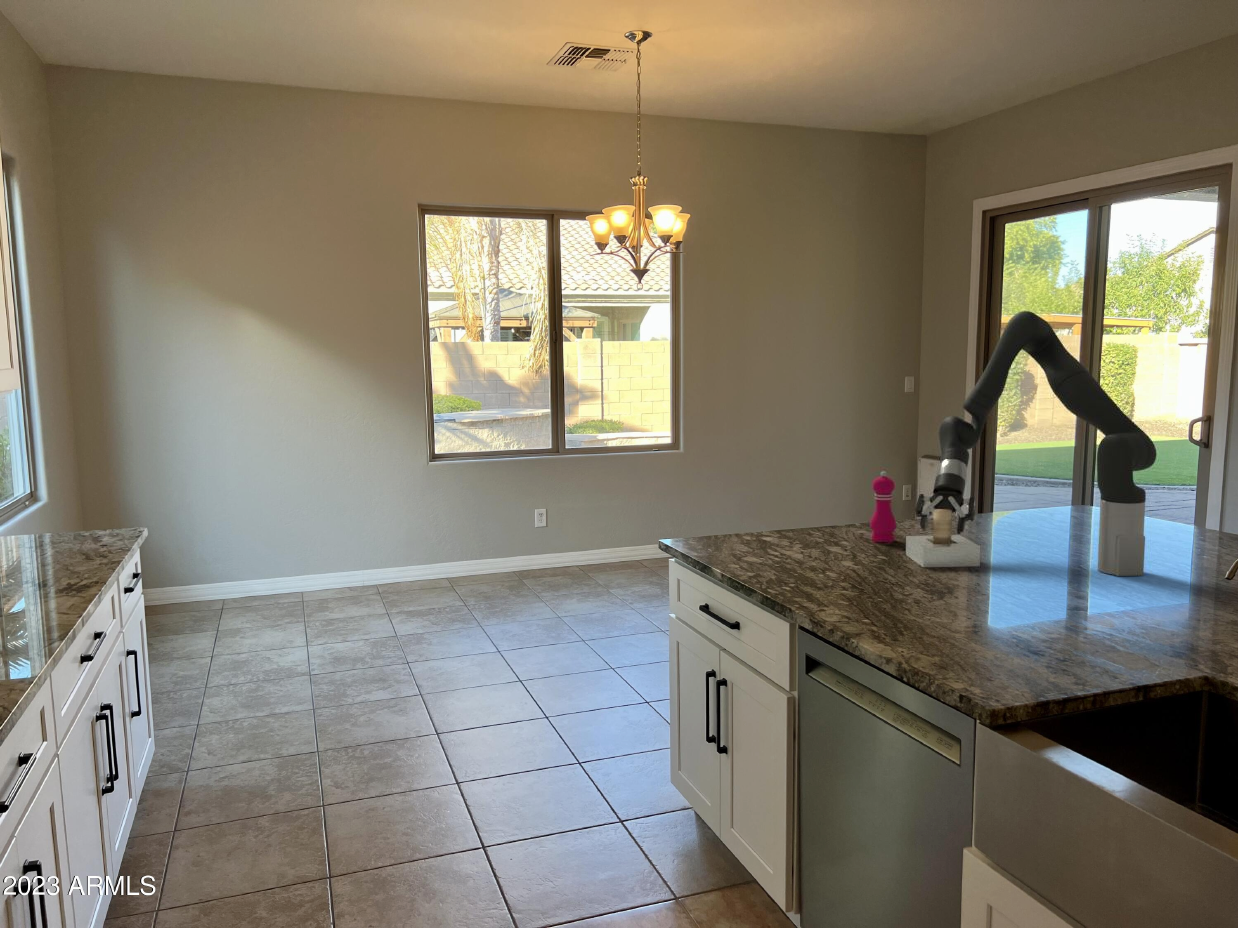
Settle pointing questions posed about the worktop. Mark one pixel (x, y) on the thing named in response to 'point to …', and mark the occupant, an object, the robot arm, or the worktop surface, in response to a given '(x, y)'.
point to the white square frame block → (943, 552)
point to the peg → (942, 526)
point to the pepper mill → (883, 510)
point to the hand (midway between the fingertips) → (941, 530)
